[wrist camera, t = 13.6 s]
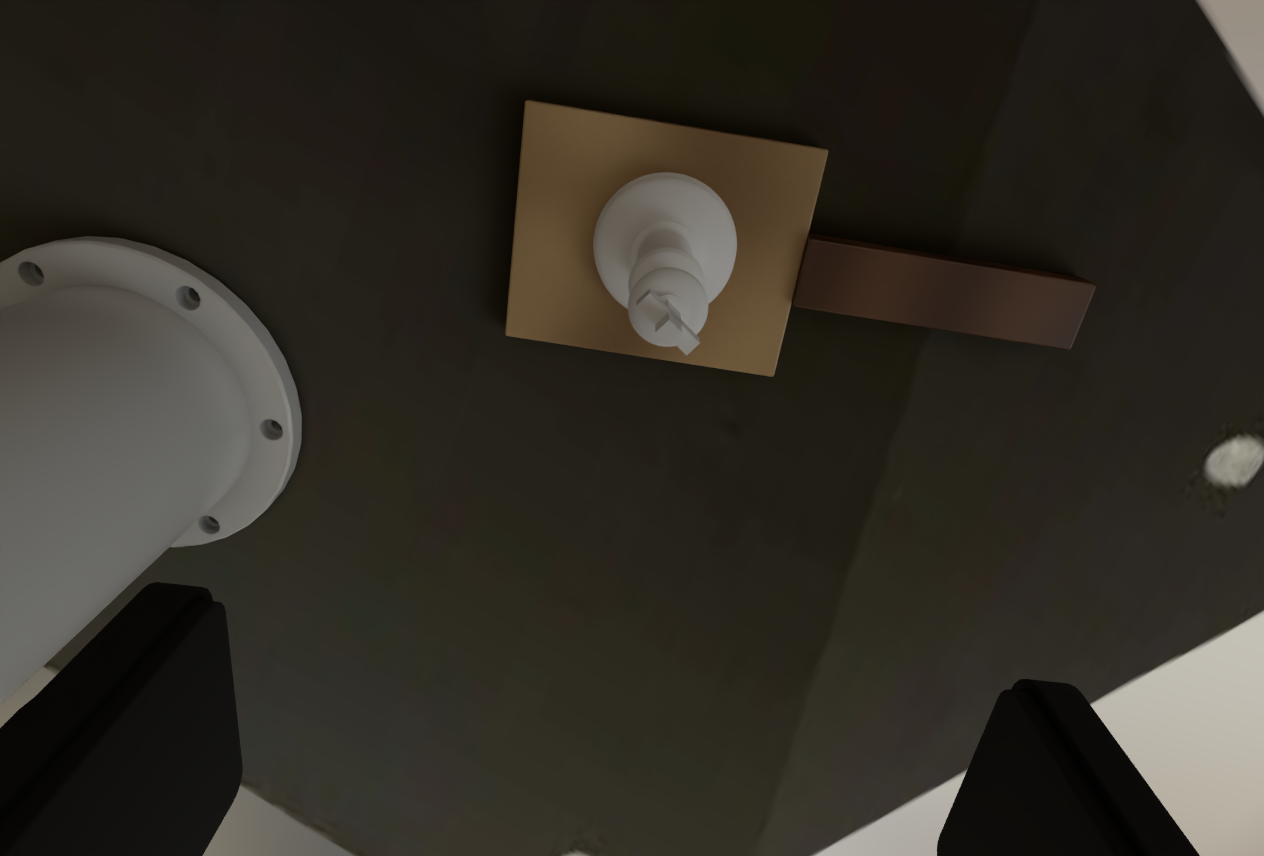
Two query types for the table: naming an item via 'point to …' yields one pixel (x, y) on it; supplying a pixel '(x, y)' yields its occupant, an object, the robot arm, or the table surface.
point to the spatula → (741, 249)
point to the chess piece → (665, 255)
